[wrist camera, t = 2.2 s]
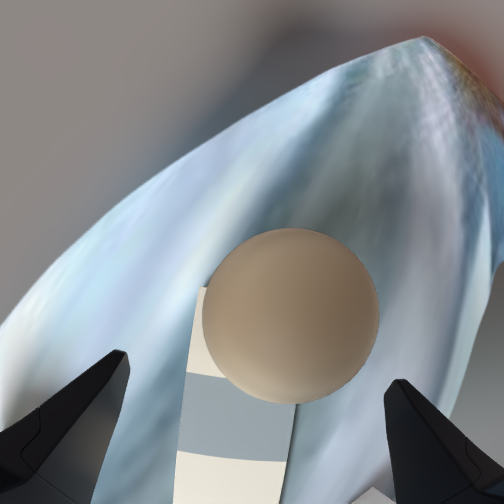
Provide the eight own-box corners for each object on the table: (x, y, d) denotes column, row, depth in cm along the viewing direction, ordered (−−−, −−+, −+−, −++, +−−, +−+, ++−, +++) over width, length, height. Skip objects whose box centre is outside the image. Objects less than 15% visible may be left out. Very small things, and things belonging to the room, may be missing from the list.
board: (261, 559, 12) (263, 565, 11) (172, 550, 12) (170, 557, 11) (303, 303, 20) (307, 301, 19) (200, 289, 19) (199, 286, 18)
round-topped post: (299, 358, 17) (456, 361, 5) (225, 387, 16) (233, 484, 4) (271, 286, 19) (365, 157, 6) (197, 312, 18) (137, 218, 5)
